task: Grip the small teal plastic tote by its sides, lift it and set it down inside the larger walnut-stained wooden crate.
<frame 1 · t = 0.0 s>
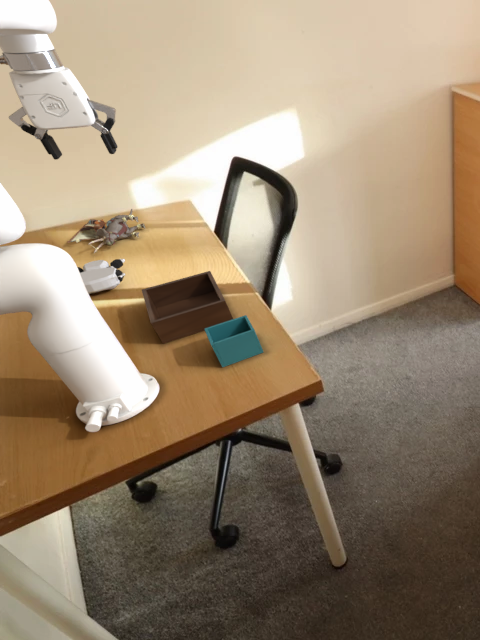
hand: (86, 154, 99), 31 cm above the table, tool pointing down, fingers open, 9 cm apart
figurine: (110, 239, 136), on the table
robot toy: (101, 284, 118), on the table
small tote: (239, 351, 99), on the table
crate: (193, 315, 108), on the table
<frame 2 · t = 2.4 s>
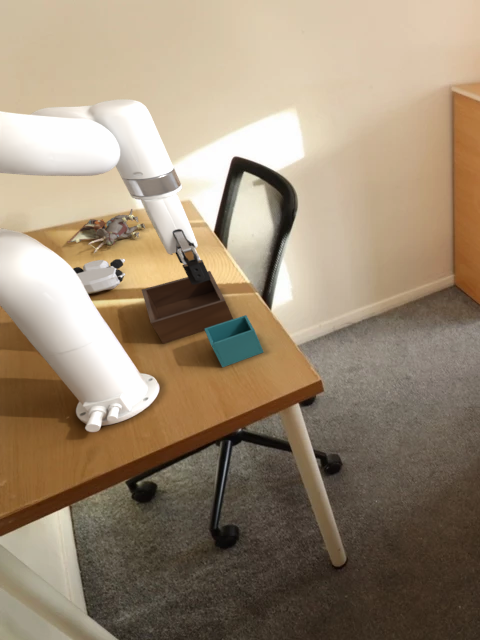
hand: (195, 270, 90), 18 cm above the table, tool pointing down, fingers open, 9 cm apart
nothing on the table moved.
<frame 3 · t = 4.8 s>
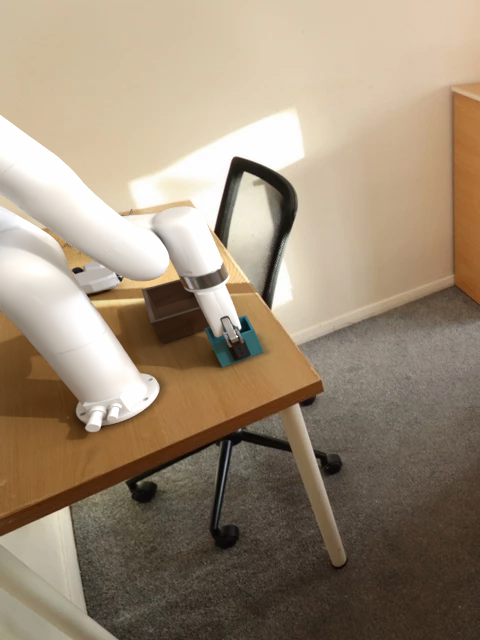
hand: (238, 348, 98), 1 cm above the table, tool pointing down, fingers closed on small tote, 6 cm apart
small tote: (239, 351, 99), on the table, touching gripper
everything else where it was.
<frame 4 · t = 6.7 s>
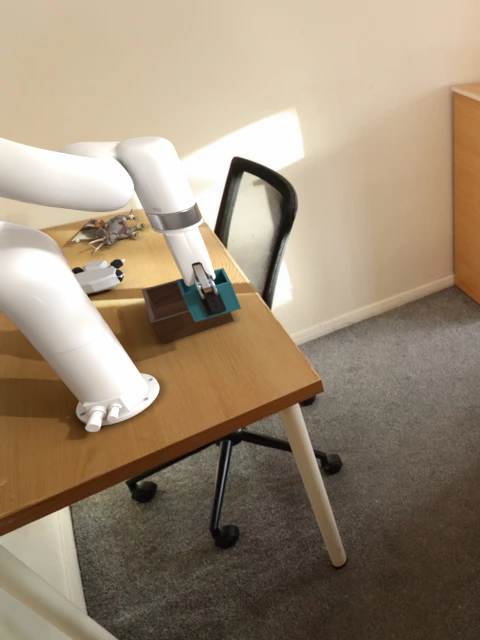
hand: (213, 303, 91), 13 cm above the table, tool pointing down, fingers closed on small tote, 6 cm apart
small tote: (215, 307, 91), point 12 cm above the table, touching gripper
everything else where it was.
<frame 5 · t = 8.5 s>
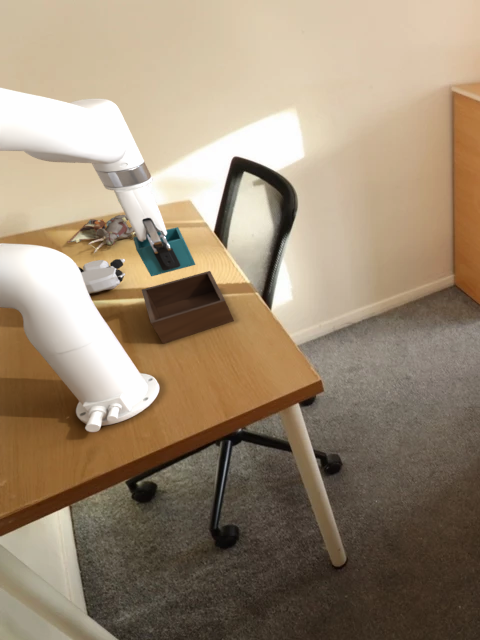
hand: (169, 260, 97), 15 cm above the table, tool pointing down, fingers closed on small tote, 6 cm apart
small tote: (171, 264, 98), point 14 cm above the table, touching gripper
everything else where it was.
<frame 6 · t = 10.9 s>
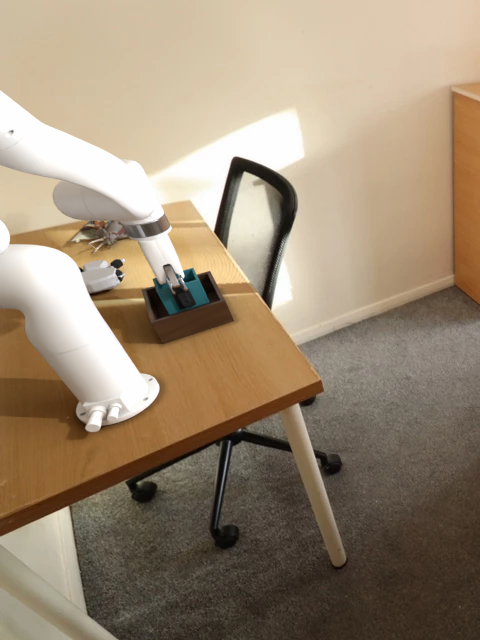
hand: (185, 298, 105), 5 cm above the table, tool pointing down, fingers closed on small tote, 6 cm apart
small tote: (187, 301, 106), point 4 cm above the table, touching gripper
everything else where it was.
when the fingers open (2 cm above the table, at t = 12.4 s): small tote stays where it is, resting on crate.
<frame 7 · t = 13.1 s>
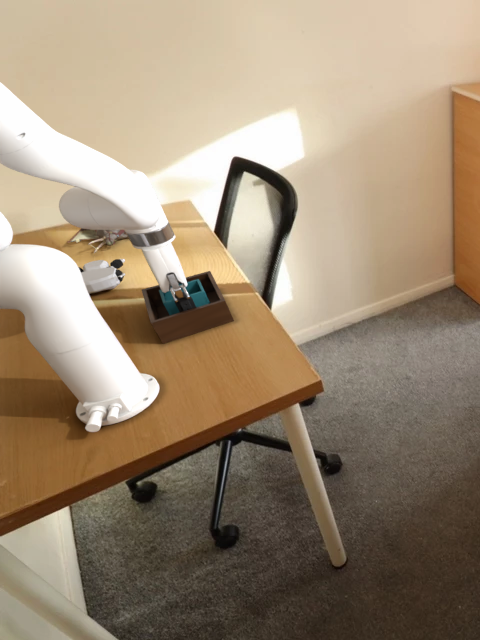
hand: (186, 304, 106), 3 cm above the table, tool pointing down, fingers open, 9 cm apart
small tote: (192, 312, 108), point 1 cm above the table, touching crate
everything else where it was.
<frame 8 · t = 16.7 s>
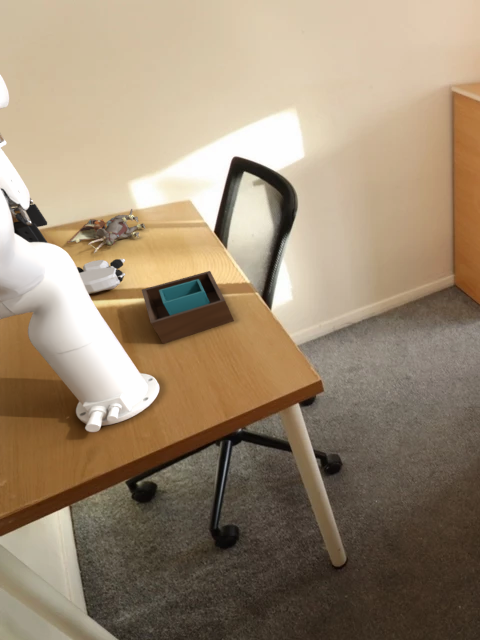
hand: (37, 236, 86), 24 cm above the table, tool pointing down, fingers open, 9 cm apart
nothing on the table moved.
at the end: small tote inside the target area in the crate (0.2 cm from its centre), point 0.6 cm above the crate's base; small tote tilted 0°; the gripper is holding nothing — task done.
